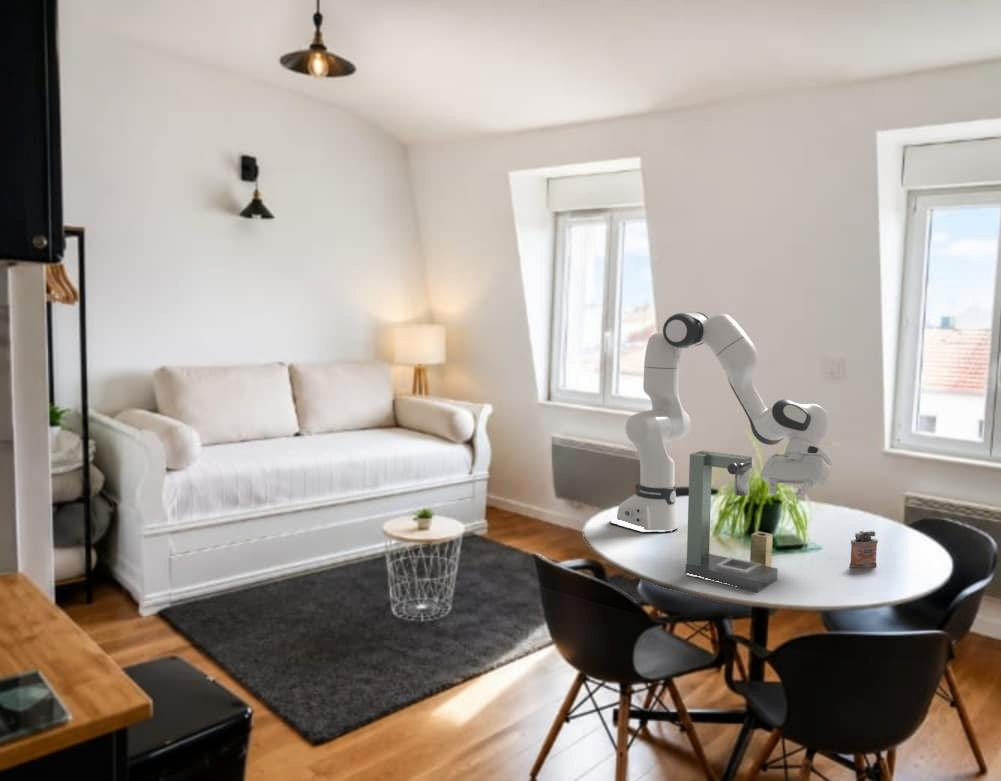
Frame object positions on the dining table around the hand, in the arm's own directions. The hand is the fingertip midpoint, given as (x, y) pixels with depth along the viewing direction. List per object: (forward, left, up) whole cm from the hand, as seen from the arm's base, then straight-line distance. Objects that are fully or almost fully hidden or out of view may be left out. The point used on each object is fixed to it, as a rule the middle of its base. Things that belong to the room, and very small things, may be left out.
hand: (785, 495), depth 230 cm
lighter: (+20, +7, -19) cm, 28 cm away
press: (-4, -28, -19) cm, 34 cm away
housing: (-2, -11, -19) cm, 22 cm away
